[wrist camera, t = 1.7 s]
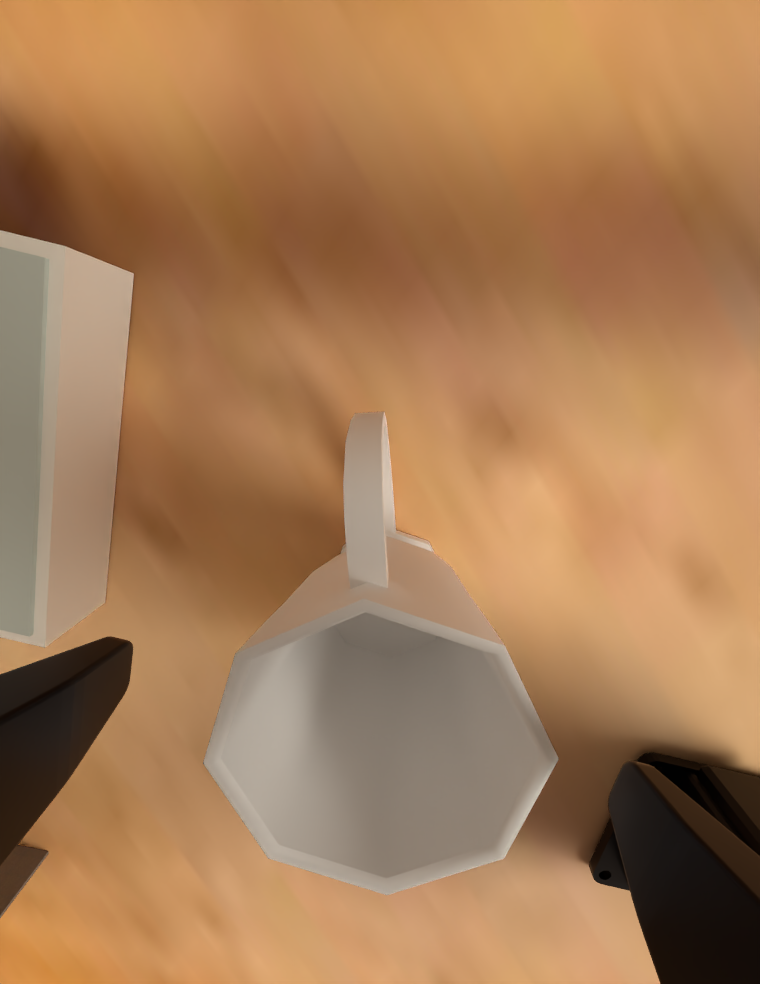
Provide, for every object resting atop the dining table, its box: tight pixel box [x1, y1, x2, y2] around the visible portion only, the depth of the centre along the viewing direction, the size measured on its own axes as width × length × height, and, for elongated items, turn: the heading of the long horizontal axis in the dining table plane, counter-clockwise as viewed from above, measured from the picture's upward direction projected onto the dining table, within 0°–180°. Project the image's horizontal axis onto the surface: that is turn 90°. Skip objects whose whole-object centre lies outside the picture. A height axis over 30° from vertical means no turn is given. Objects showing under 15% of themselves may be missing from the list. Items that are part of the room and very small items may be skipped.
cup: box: [203, 412, 559, 895], centre depth 12 cm, size 7×10×8 cm
